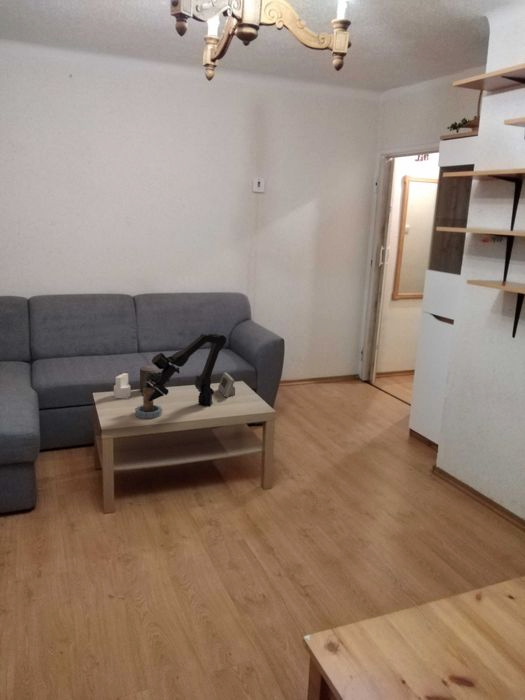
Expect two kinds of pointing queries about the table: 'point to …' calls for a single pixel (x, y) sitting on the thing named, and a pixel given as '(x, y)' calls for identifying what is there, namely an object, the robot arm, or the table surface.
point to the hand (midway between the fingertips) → (145, 398)
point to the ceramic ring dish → (148, 415)
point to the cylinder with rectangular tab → (122, 387)
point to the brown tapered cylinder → (146, 404)
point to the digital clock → (227, 385)
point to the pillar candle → (143, 372)
